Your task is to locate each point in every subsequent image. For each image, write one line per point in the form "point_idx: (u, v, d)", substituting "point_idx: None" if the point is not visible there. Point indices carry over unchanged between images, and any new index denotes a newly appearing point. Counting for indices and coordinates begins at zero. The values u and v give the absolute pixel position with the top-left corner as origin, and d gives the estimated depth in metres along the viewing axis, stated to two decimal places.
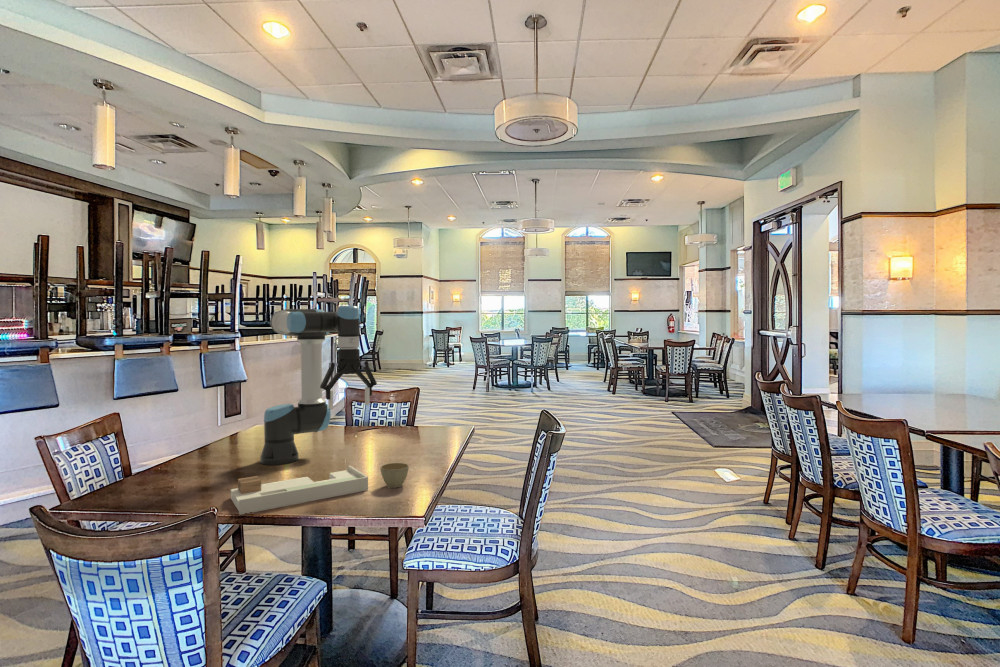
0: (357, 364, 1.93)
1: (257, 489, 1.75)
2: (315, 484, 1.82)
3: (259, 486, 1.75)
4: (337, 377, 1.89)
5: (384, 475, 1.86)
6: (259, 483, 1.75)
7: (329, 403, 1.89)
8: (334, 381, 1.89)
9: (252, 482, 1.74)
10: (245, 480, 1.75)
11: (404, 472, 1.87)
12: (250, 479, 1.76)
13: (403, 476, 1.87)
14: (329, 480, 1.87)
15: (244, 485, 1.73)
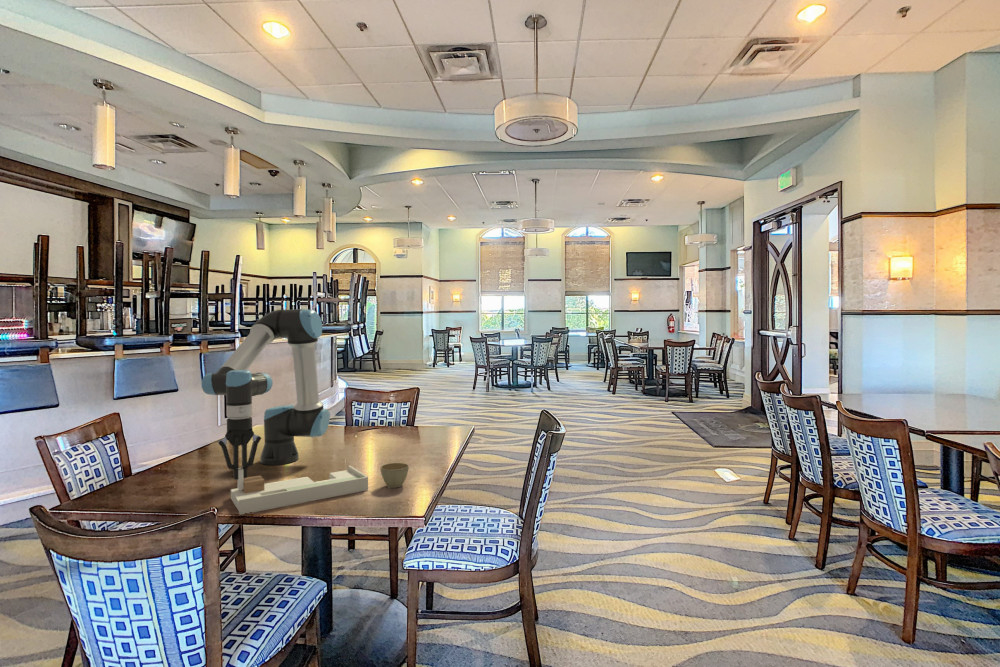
0: (249, 434, 1.75)
1: (260, 488, 1.76)
2: (315, 484, 1.82)
3: (262, 485, 1.76)
4: (235, 453, 1.73)
5: (384, 475, 1.86)
6: (262, 482, 1.76)
7: (237, 483, 1.75)
8: (236, 458, 1.73)
9: (255, 481, 1.75)
10: (248, 479, 1.76)
11: (404, 472, 1.87)
12: (253, 478, 1.77)
13: (403, 476, 1.87)
14: (329, 480, 1.87)
15: (248, 485, 1.73)
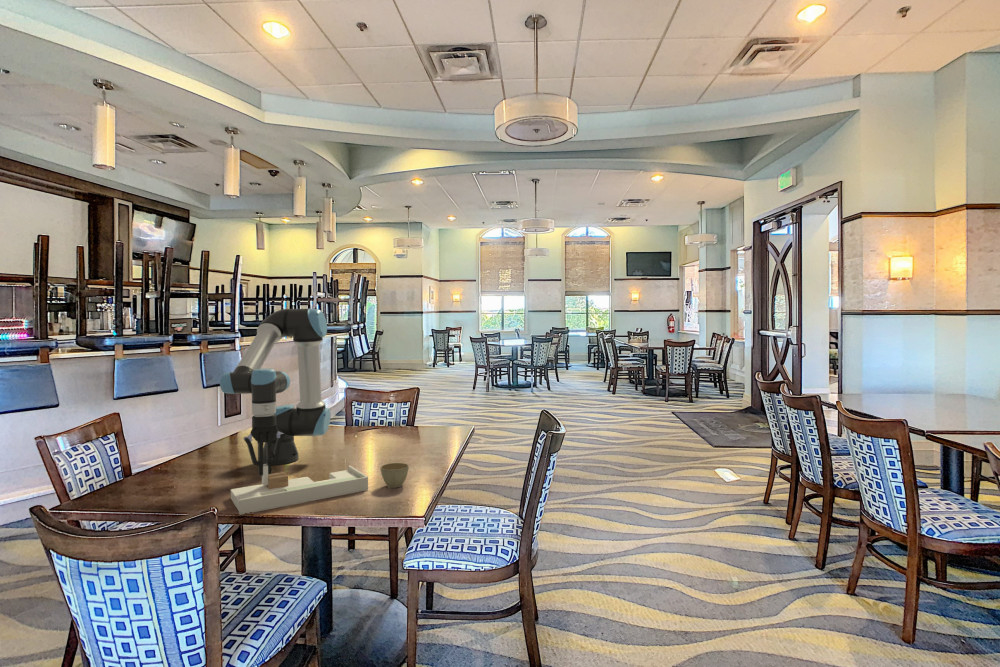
0: (273, 431, 1.80)
1: (284, 484, 1.80)
2: (315, 484, 1.82)
3: (286, 482, 1.80)
4: (260, 449, 1.77)
5: (384, 475, 1.86)
6: (286, 479, 1.80)
7: (262, 479, 1.79)
8: (261, 455, 1.77)
9: (280, 478, 1.79)
10: (273, 476, 1.80)
11: (404, 472, 1.87)
12: (277, 475, 1.81)
13: (403, 476, 1.87)
14: (329, 480, 1.87)
15: (272, 481, 1.78)
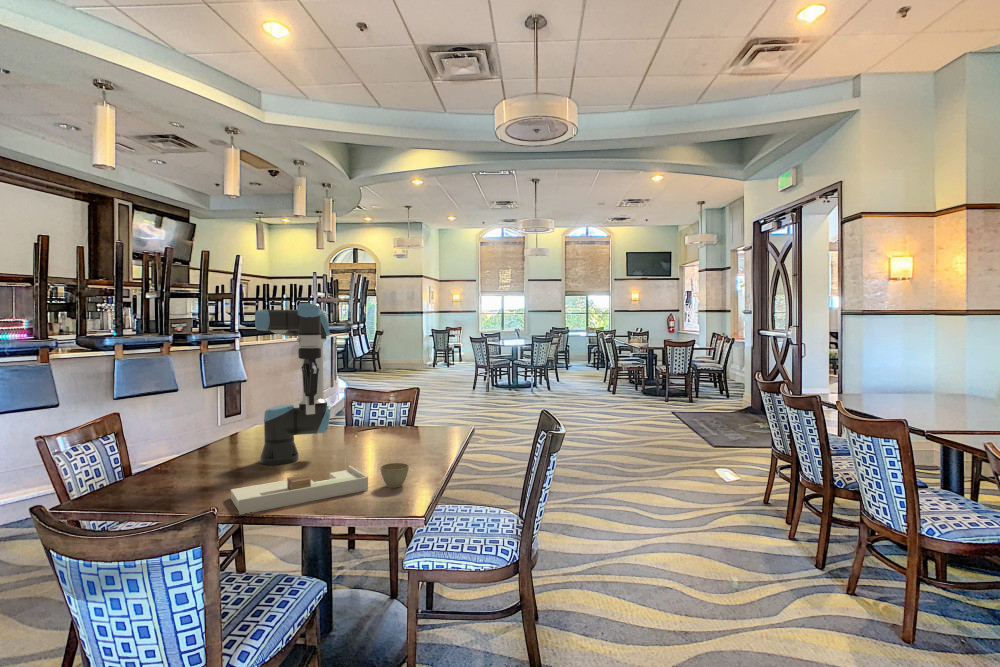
0: (309, 364, 1.84)
1: None
2: (315, 484, 1.82)
3: (309, 485, 1.77)
4: (305, 379, 1.87)
5: (384, 475, 1.86)
6: (309, 482, 1.77)
7: None
8: (305, 384, 1.87)
9: (302, 481, 1.75)
10: (295, 479, 1.77)
11: (404, 472, 1.87)
12: (300, 478, 1.78)
13: (403, 476, 1.87)
14: (329, 480, 1.87)
15: (295, 484, 1.74)
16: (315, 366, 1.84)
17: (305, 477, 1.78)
